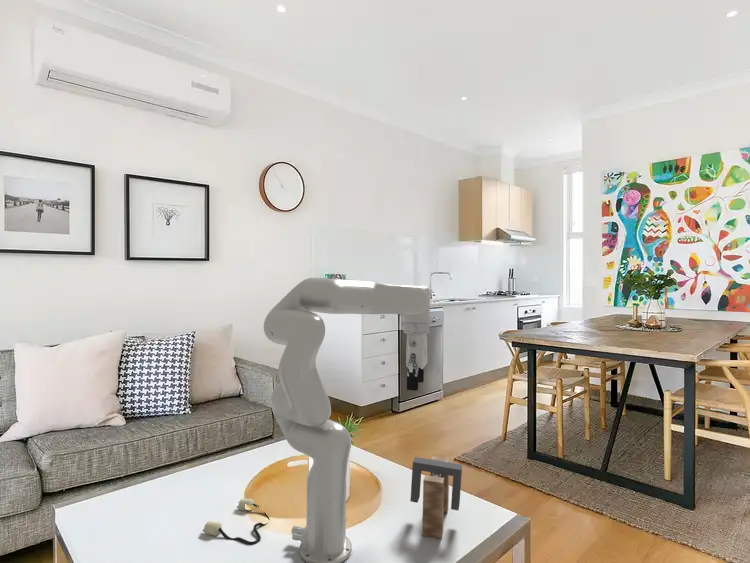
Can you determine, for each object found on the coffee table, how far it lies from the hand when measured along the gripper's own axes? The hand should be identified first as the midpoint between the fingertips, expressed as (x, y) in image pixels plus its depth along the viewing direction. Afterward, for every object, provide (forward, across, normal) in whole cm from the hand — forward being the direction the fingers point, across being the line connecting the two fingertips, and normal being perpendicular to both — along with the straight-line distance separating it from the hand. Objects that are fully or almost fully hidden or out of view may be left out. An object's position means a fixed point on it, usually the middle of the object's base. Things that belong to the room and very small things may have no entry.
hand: (415, 385), depth 137 cm
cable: (+35, -25, +41) cm, 59 cm away
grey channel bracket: (+29, -9, -8) cm, 32 cm away
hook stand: (+34, -9, -8) cm, 36 cm away
